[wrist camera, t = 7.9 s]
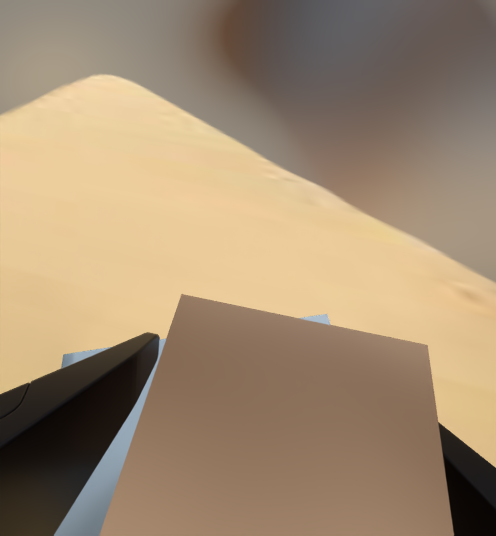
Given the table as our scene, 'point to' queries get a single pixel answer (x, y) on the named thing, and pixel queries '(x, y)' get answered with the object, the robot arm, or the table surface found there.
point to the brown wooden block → (282, 433)
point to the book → (110, 461)
